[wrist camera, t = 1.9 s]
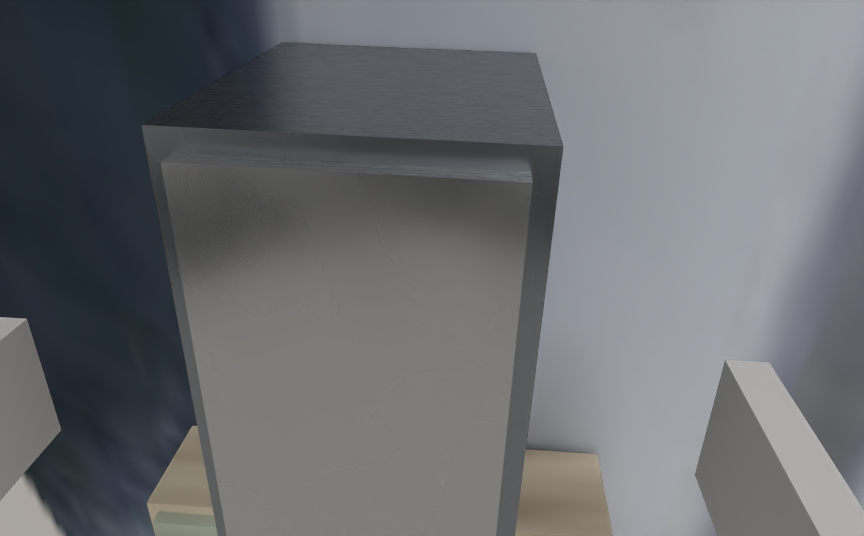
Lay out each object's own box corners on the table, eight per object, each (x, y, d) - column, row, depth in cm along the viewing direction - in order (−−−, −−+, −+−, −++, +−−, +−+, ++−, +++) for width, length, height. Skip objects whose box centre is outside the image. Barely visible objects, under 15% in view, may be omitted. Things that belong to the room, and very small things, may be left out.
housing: (281, 43, 16) (127, 133, 9) (535, 53, 15) (566, 156, 9) (307, 380, 20) (219, 599, 14) (502, 395, 20) (505, 626, 13)
